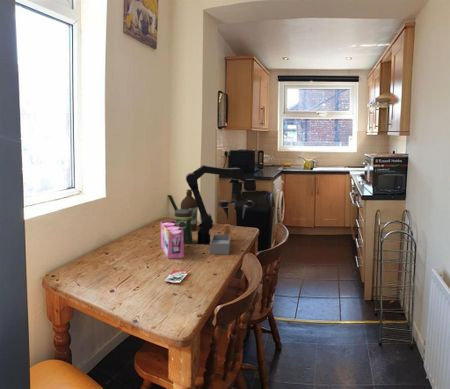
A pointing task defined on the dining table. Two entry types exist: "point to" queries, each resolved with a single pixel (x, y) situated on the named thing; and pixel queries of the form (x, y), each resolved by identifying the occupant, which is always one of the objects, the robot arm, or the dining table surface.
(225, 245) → the tray
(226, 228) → the peg
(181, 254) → the gum box
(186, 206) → the olive oil
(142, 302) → the dining table surface
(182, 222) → the coffee jar
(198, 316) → the dining table surface
